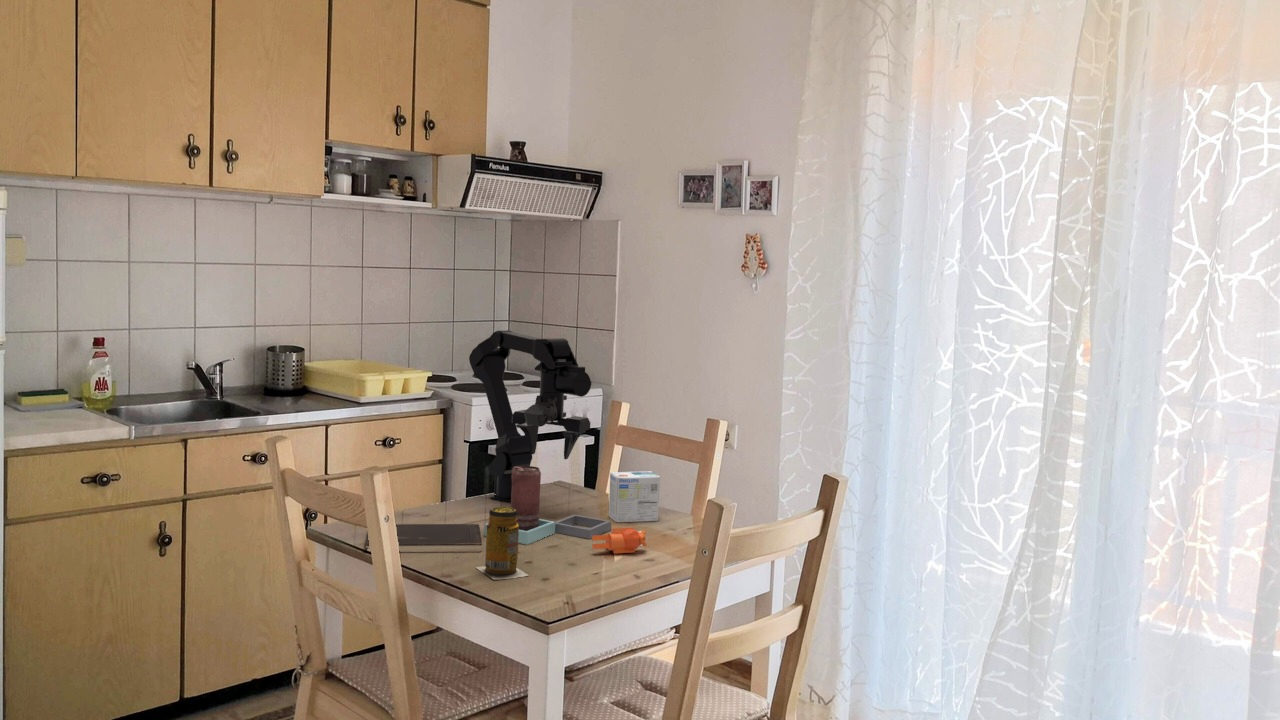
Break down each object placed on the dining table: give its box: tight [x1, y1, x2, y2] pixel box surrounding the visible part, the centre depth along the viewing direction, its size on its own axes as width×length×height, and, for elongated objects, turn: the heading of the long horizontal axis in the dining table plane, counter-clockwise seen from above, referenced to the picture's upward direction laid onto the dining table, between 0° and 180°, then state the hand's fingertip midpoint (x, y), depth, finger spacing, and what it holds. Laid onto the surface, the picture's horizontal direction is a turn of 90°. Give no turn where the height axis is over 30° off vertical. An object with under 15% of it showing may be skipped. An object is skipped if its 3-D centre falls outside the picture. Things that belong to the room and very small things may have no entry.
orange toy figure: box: [591, 527, 647, 554], centre depth 213 cm, size 5×8×12 cm
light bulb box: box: [608, 470, 661, 523], centre depth 240 cm, size 11×7×11 cm, turn 108°
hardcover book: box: [364, 523, 483, 553], centre depth 213 cm, size 16×23×2 cm
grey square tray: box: [555, 513, 612, 540], centre depth 227 cm, size 10×10×2 cm
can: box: [510, 465, 542, 531], centre depth 221 cm, size 6×6×14 cm
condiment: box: [475, 506, 530, 581], centre depth 194 cm, size 7×8×12 cm
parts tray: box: [483, 518, 556, 546], centre depth 221 cm, size 11×11×3 cm
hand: (549, 456), depth 243 cm, fingers open, 9 cm apart
